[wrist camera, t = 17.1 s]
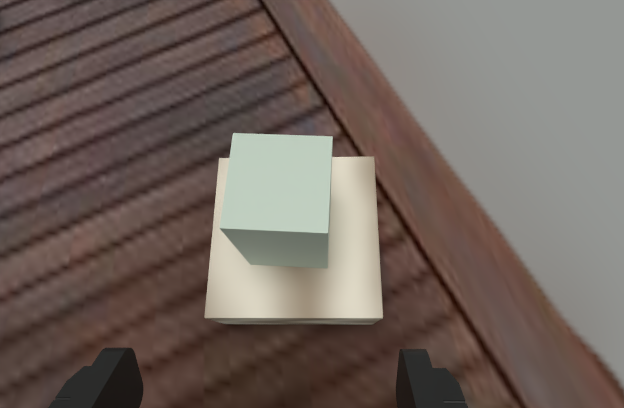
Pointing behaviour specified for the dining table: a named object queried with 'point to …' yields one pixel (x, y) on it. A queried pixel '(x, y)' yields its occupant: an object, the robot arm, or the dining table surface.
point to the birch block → (302, 280)
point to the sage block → (279, 199)
